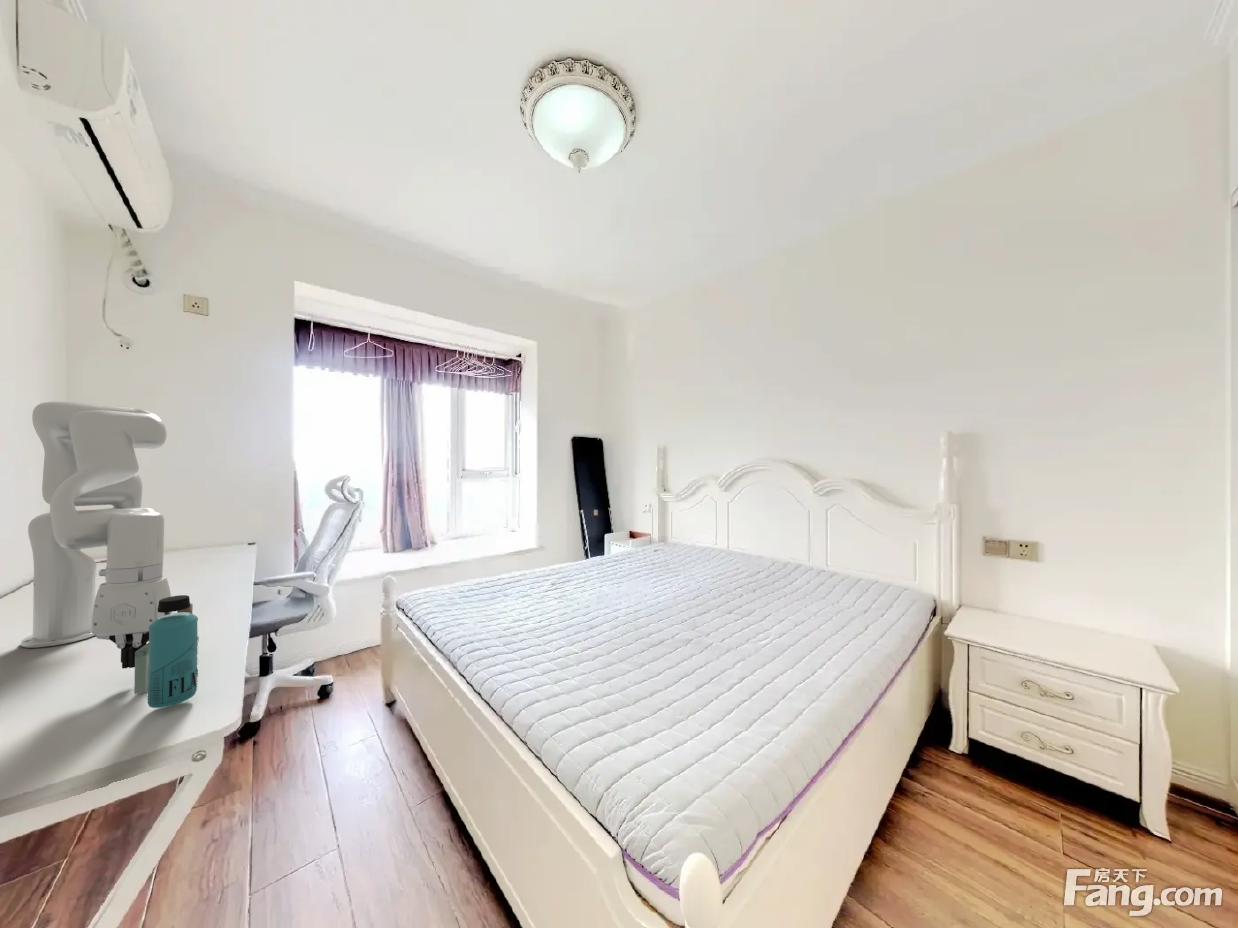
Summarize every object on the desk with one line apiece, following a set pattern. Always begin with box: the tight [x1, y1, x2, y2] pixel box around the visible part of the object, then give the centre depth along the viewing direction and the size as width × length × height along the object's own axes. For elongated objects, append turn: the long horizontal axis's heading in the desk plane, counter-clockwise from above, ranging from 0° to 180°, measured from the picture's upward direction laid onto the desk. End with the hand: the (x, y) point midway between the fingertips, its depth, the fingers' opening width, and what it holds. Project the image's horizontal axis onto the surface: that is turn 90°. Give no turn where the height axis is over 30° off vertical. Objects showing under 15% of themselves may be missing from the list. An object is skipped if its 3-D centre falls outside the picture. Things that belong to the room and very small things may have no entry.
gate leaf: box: [133, 642, 149, 695], centre depth 87 cm, size 14×2×8 cm, turn 26°
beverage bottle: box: [146, 594, 200, 709], centre depth 77 cm, size 6×7×20 cm
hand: (133, 664), depth 84 cm, fingers closed
